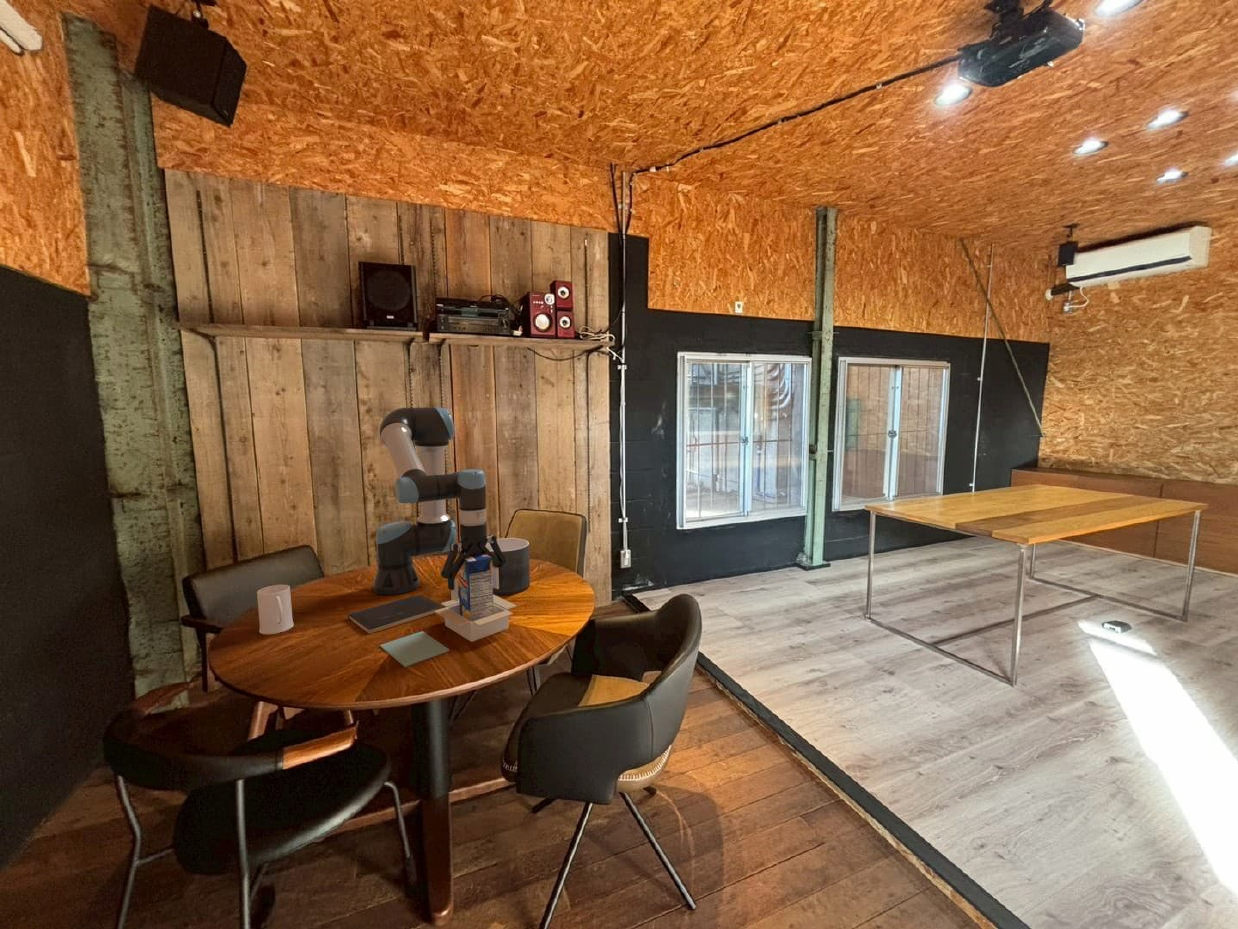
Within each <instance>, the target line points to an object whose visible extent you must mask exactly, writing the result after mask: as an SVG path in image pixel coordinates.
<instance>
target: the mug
mask: <svg viewBox="0 0 1238 929" xmlns="http://www.w3.org/2000/svg"><path fill="white" fill-rule="evenodd" d="M256 595H257V599H256V600H257V606H258V608H257V610H258V619H259V621H258V622H259V630H258V631H259V634H262V635H276V634H280V632H281V633H284V632H286V631H289V630H291V629H292V628H294V626H295V625H294V624H295V623H294V620H293V611H292V610H293V608H292V598H291V597H292V596H291V586H290V585H288V584H274V585H269V586H265V587H262V588H260V589H258V590H257V591H256Z"/></svg>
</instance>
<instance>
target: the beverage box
mask: <svg viewBox="0 0 1238 929" xmlns="http://www.w3.org/2000/svg"><path fill="white" fill-rule="evenodd" d="M459 553H460V551H458V554H457V557H458V556H459ZM464 554H466V553H464ZM457 576H458V577H457V580H458V598H459V605H460V615H461V616H462V617H464V618H466V619H468V620H469V621H471V622H473V621H476V620H479V619H482V618H484V617H487V616H490V615H493V614H494V610H493V577H492V558H491V557H490V556H489V555H487V554H485V553H483V552H481V554H475V555H473V556H471V555H470V556H469V557H468V558H467V559H465V562H464V564H463V565H462V567H461V568H460V570H459V572H458V573H457Z"/></svg>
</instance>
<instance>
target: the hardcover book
mask: <svg viewBox="0 0 1238 929" xmlns="http://www.w3.org/2000/svg"><path fill="white" fill-rule="evenodd" d="M443 607H444V606H443V605H441V603H438V602H436V601H434V600H432V599H430V598H429V597H427V596H425V595H423V594H421V593H419V594H416V595H411V596H408V597H405V598H401V599H397V600H393V601H390V602H387V603H383V604H380V605H376V606H372V607H370V608H365V609H361V610H358V611H355V612H349V613H348V615H347V617H348V620H350V619H351V620H350V621H352V622H353V623H355V625H357V626H358V627H360V628H361V629H362V630H363V631H365V632H366V633H367V634H368V635H369V634H370V635H371V634H373V633H377V632H380V631H383V630H387V629H390V628H393V627H395V626H399V625H403V624H405V623H409V622H412V621H415V620H418V619H421V618H422V619H423V618H425V617H427V616H431V615H434V614H436V613H435V612H434V611H436V610H439V609H442V608H443Z"/></svg>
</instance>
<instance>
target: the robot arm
mask: <svg viewBox="0 0 1238 929" xmlns="http://www.w3.org/2000/svg"><path fill="white" fill-rule="evenodd" d="M379 437H380V440H381V442H382V444H384V446H385V447H387V450H388V452H389V455H390V458H391V460H392V462H393V465H394V467H395V471H396V473H397V477H398V478H397V479H396V480H395V485H394V487H395V495H396V499H397V502H398V503H400V504H417V503H420V511H421V512H420V515H418V517H416V523H415V524H412V523H411V521H410V520H400V521H394V522H390V523H387V524H384V525H382V526H380V527H378V529H377V530H376V532H375V535H376V536H375V544H376V555H377V556H376V557H377V558H376V559H377V570H376V574H375V578H374V581H373V592H374V594H378V595H382V596H383V595H384V596H391V595H399V594H405V593H409V592H412V591H414V590H416V589H417V588H418V587H419V586H420V580H419V579H420V577H419V576H418V573H417V571H416V569H415V567H414V558H415V557H422V556H429V555H434V554H442V553H445V552H448V555H447V557H446V559H445V562H444V565H443V568H442V570H441V573H440V576H441V577H442V578H444V579H447V588H448V590H449V591H450V597H451V600H454V601H458V598H459V579H458V577H456V576H458V572H459V570H460V568H461V567H462V565H463V564H464V562H465V559H467V558H468V557H469V556H470V555H471V556H473V555H475V554H481V552H483V553H485V554H487V555H489V556H490V557H491V558H492V563H493V564H494V566H492V577H493V588H495V589H499V577H500V575H501V567H502V566H503V564H505V563H506V559H505V557H504V555H503V553H502V551H501V549H500V548H499V546H498V544H497V539H498V538H497V536H496V535H493V534H489V535H488V536H487V534H488V528H487V527H488V526H487V523H486V521H487V496H486V495H487V493H486V489H487V488H486V485H487V480H486V474H485V471H484V470H483V469H478V468H477V469H475V468H473V469H470V468H469V469H463V470H460V471H455V472H451V473H446V464H445V463H446V458H445V457H446V454H445V450H446V449H447V448H448V446H450V443H449V442H450V441H451V440H453V439H454V438H455V425H454V421H453V417H452V415H451V413H450V411H449V409H447V408H445V407H435V406H432V407H429V406H428V407H426V406H425V407H423V406H422V407H401V408H396V409H394V410H392V411H391V412H389V413H388V414H387V415H386V416H385V417H384V418H383V420H382V421H381V424H380V426H379ZM413 442H414V443H413ZM416 448H417V449H418V450H419V454H418V452H417V449H416ZM453 499H455V500H456V499H458V506H459V507H458V508H459V510H458V511H459V512H458V514H459V523H460V525H459V536H460V542H456V536H457V530H456V523H455V522H454V520H452V519H451V516H450V515H449V514H448V513H447V510H446V509H447V507H446V505H447V504H446V503H447V502H446V501H447V500H453ZM487 542H488V543H490V545H491V547H492V549H493V551H494V553H495V555H496V557H497V559H498V560H497V559H496V558H495V557H494V556H493V555H492V554H491V552H490V551H489V550H488V549H487V548H486V547H485V546H486V544H487ZM460 549H461V550H460ZM458 552H460V553H459V556H458ZM464 553H466V554H464Z"/></svg>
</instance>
